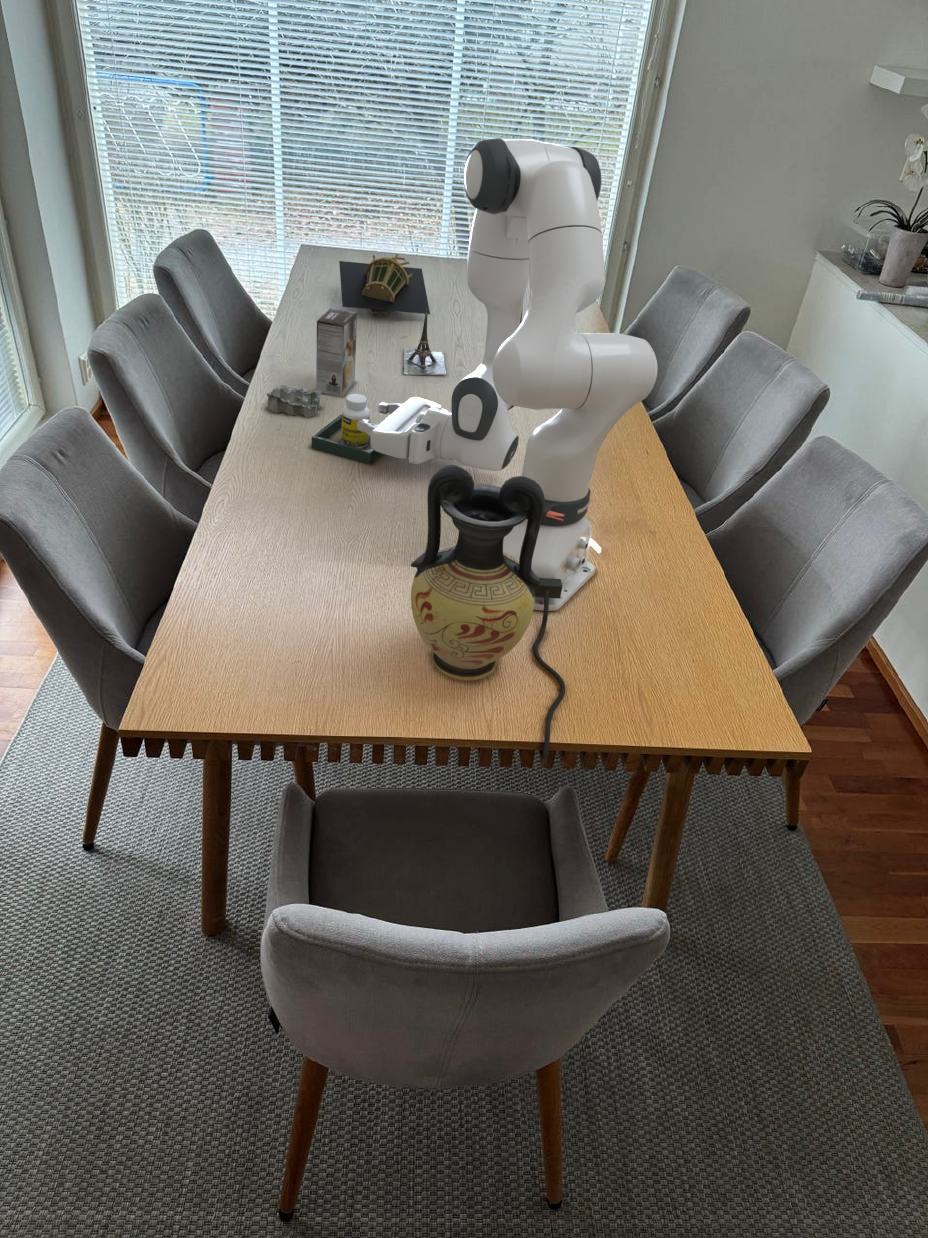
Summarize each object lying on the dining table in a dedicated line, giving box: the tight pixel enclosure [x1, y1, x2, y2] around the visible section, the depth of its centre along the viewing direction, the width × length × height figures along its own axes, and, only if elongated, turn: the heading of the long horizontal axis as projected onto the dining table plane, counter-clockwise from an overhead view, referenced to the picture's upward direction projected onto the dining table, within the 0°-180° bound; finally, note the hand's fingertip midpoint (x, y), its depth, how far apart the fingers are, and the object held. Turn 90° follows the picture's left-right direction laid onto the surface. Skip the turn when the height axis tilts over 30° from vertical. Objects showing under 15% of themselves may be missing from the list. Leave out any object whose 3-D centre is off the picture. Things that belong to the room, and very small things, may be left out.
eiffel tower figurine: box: [403, 310, 447, 376], centre depth 222 cm, size 15×10×13 cm
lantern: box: [338, 253, 431, 315], centre depth 255 cm, size 14×23×30 cm
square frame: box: [311, 413, 382, 465], centre depth 186 cm, size 13×13×2 cm
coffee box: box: [315, 308, 358, 397], centre depth 204 cm, size 9×6×16 cm
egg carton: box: [266, 384, 322, 418], centre depth 196 cm, size 11×8×4 cm
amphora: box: [410, 464, 545, 682], centre depth 126 cm, size 18×17×30 cm
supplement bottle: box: [340, 393, 371, 449], centre depth 184 cm, size 5×5×10 cm
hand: (369, 415), depth 183 cm, fingers open, 8 cm apart
